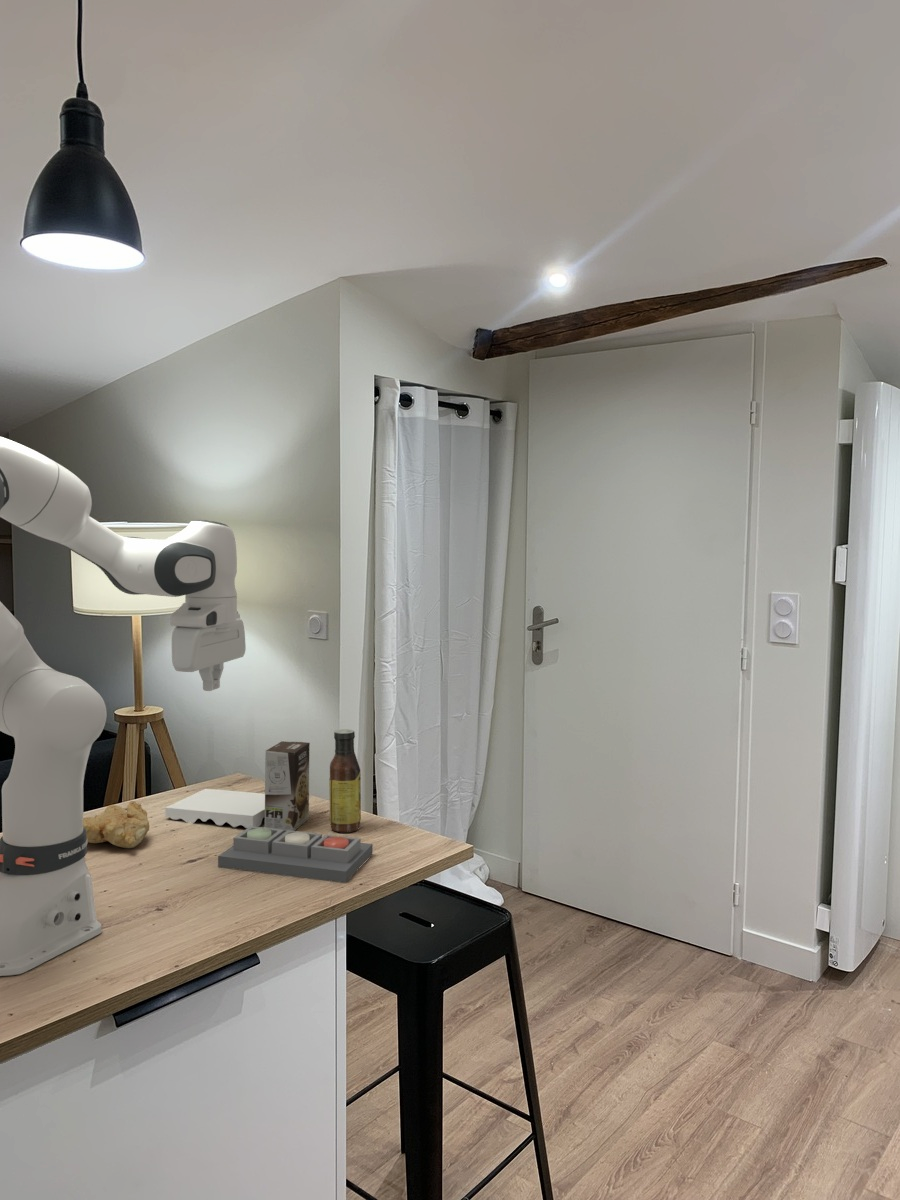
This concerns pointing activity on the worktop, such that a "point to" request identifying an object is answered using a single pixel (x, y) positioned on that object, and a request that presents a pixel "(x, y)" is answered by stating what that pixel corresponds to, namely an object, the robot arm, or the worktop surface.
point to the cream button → (297, 838)
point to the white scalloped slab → (220, 807)
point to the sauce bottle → (345, 784)
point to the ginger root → (118, 826)
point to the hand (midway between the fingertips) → (211, 689)
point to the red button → (336, 842)
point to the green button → (259, 833)
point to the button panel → (296, 856)
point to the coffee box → (287, 785)
